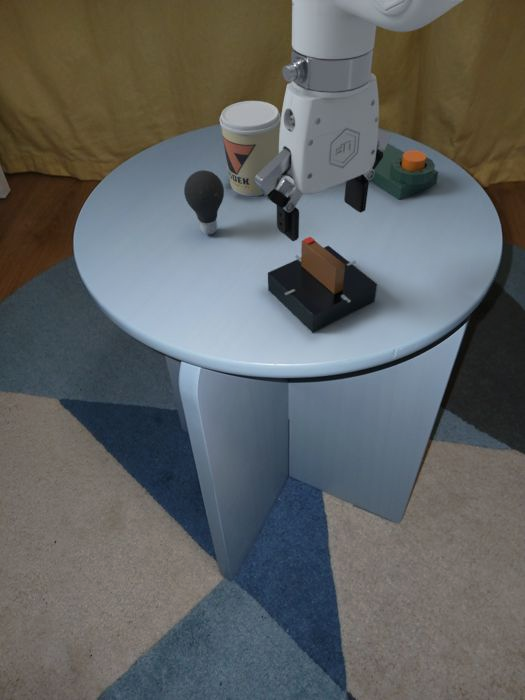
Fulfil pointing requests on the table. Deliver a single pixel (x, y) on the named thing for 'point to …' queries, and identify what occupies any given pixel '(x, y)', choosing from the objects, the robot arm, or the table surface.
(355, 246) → the table surface
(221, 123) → the coffee cup
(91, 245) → the table surface
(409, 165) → the button
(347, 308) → the clamp block
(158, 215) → the table surface
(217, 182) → the light bulb
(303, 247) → the wooden rectangular beam
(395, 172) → the button box
